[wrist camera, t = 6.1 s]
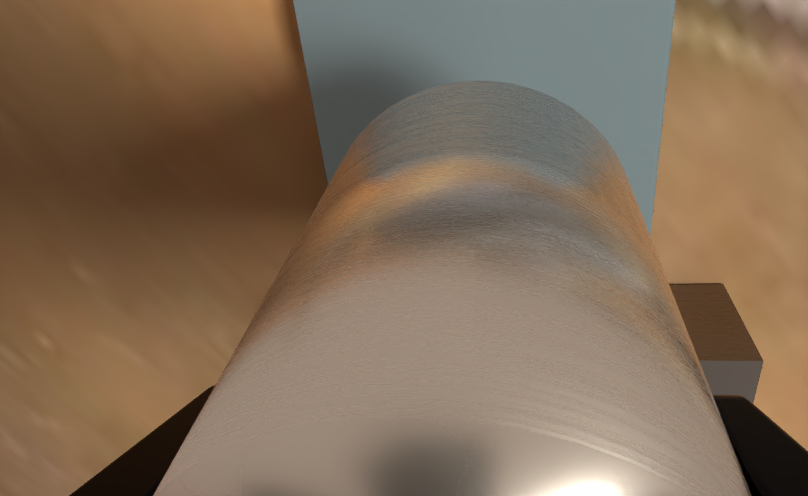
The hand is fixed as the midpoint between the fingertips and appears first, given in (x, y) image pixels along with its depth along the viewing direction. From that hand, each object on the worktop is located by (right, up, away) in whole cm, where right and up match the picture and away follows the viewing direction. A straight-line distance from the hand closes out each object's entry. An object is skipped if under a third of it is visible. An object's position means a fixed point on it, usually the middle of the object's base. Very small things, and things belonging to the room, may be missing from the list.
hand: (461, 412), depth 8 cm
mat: (+1, +6, +9) cm, 11 cm away
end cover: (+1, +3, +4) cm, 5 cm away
